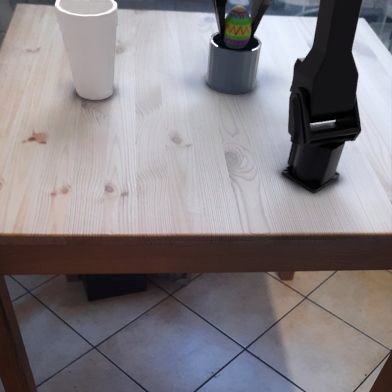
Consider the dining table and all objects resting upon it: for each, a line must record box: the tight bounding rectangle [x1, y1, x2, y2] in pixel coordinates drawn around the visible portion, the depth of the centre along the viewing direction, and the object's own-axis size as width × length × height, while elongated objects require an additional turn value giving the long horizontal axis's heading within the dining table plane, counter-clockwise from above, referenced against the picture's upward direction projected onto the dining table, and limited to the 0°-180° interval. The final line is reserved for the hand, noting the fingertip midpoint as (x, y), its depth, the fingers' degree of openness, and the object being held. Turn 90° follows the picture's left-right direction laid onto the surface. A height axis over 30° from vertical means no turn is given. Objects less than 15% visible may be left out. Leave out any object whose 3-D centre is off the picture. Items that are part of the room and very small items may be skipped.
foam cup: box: [54, 0, 119, 101], centre depth 80 cm, size 10×9×13 cm
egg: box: [224, 4, 251, 49], centre depth 83 cm, size 5×5×6 cm
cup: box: [206, 31, 263, 95], centre depth 87 cm, size 9×9×7 cm
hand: (236, 37), depth 84 cm, fingers closed on egg, 5 cm apart
